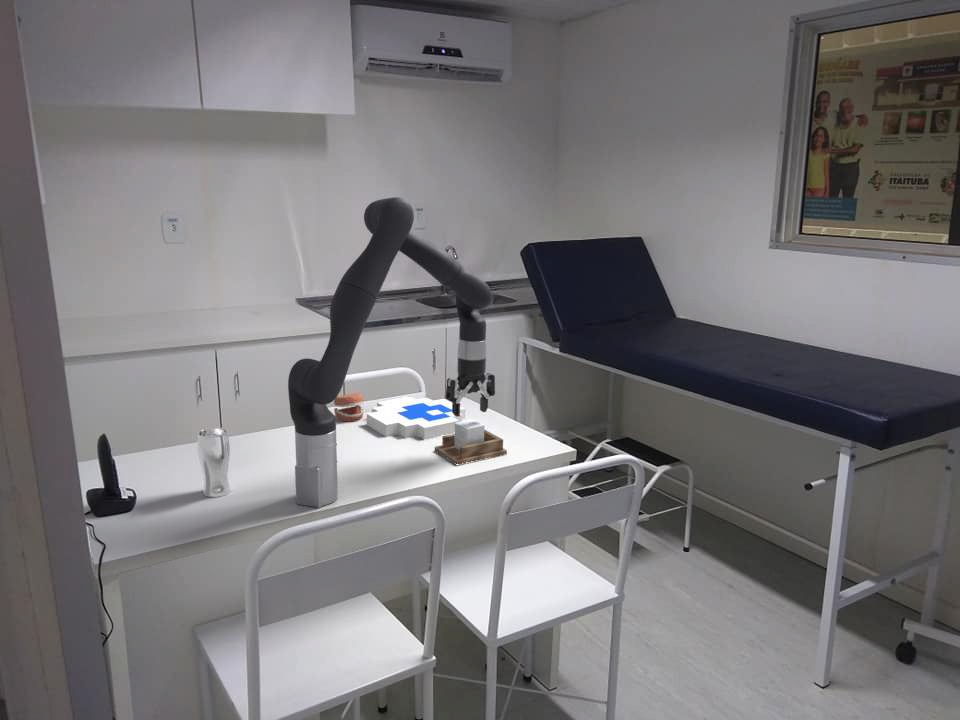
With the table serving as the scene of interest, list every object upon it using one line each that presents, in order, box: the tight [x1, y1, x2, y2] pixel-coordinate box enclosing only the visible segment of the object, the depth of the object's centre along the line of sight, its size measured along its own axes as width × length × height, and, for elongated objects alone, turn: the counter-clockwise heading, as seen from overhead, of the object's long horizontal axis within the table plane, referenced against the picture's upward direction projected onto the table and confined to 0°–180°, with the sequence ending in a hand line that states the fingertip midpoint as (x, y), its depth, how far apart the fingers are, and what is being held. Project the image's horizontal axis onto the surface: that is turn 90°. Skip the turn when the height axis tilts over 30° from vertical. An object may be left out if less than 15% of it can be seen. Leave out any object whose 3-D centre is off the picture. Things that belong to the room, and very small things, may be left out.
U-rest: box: [434, 428, 508, 465], centre depth 201 cm, size 16×12×4 cm
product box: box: [454, 418, 485, 450], centre depth 200 cm, size 6×6×7 cm
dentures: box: [333, 392, 364, 422], centre depth 225 cm, size 9×7×8 cm
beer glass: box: [197, 427, 231, 498], centre depth 171 cm, size 7×7×15 cm
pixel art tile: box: [366, 396, 466, 440], centre depth 224 cm, size 28×4×28 cm
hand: (470, 413), depth 198 cm, fingers open, 8 cm apart
